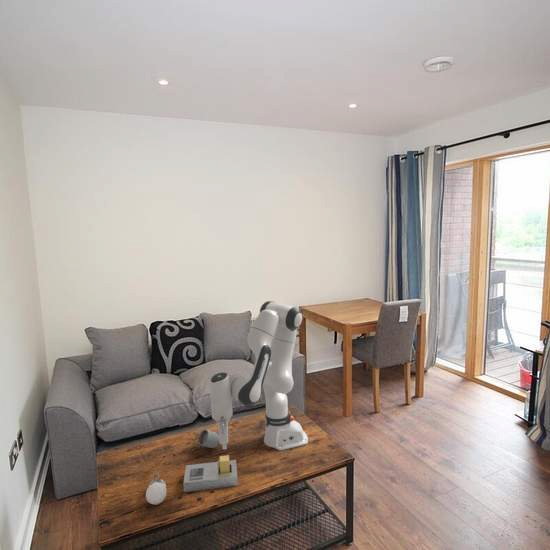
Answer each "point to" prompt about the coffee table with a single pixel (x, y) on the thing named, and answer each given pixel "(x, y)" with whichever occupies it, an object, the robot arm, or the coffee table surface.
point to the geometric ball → (156, 493)
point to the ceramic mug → (208, 439)
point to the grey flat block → (209, 476)
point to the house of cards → (157, 480)
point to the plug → (224, 464)
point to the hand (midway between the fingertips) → (224, 442)
